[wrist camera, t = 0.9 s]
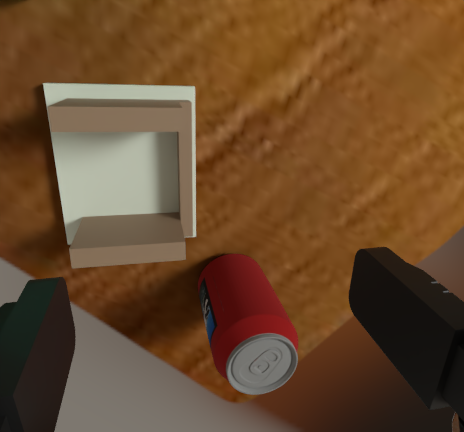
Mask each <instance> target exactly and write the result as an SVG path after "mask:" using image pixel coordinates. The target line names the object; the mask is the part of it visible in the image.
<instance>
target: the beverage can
mask: <svg viewBox="0 0 464 432" xmlns="http://www.w3.org/2000/svg"><path fill="white" fill-rule="evenodd" d="M198 293H199V297H200V302H201V307H202V312H203V316H204V321H205V326H206V330H207V334H208V339H209V343H210V347H211V351H212V355H213V359H214V363H215V366H216V368H217V370H218V372H219V373H220V374H221V375H222V376H223V377H224V378H225V379H227V380H228V381H229V382H230V384H231V385H232V386H233V387H234V388H235V389H236V390H238V391H240V392H242V393H245V394H263V393H267V392H270V391H272V390H275V389H277V388H279V387H280V386H281V385H283V384H284V383H285V382H286V381H287V380H289V378H290V377H291V376H292V375H293V373H294V371H295V369H296V366H297V362H298V356H297V349H298V336H297V332H296V330H295V328H294V326H293V324H292V323H291V321H290V319H289V317H288V315H287V313H286V312H285V310H284V308H283V306H282V304H281V303H280V301H279V299H278V297H277V295H276V294H275V292H274V290H273V288H272V287H271V285H270V283H269V281H268V280H267V278H266V276H265V275H264V273H263V271H262V270H261V268H260V266H259V265H258V263H257V262H256V261H254V260H253V259H252V258H250V257H248V256H245V255H242V254H227V255H223V256H221V257H218V258H216V259H214V260H213V261H211V262H210V263H209V264H208V265H207V266H206V267H205V268H204V270H203V271H202V273H201V275H200V277H199V281H198Z"/></svg>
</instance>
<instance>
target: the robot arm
mask: <svg viewBox="0 0 464 432" xmlns="http://www.w3.org/2000/svg"><path fill="white" fill-rule="evenodd" d="M349 303H350V307H351V310H352V312H353V314H354V316H355V317H356V318H357V319H358V321H359V322H360V323H361V325H362V326H363V327H364V328H365V330H366V331H367V332H368V333H369V335H370V336H371V337H372V338H373V340H374V341H375V342H376V343H377V345H378V346H379V347H380V348H381V349H382V351H383V352H384V353H385V355H386V356H387V357H388V358H389V360H390V361H391V362H392V363H393V365H394V366H395V367H396V369H397V370H398V371H399V372H400V374H401V375H402V376H403V377H404V379H405V380H406V381H407V382H408V384H409V385H410V386H411V387H412V389H413V390H414V391H415V392H416V394H417V395H418V396H419V397H420V399H421V400H422V401H423V402H424V404H425V405H426V406H427V407H428V409H429V410H433V409H438V408H443V407H448V406H451V407H452V409H453V410H454V411H455V414H454V417H453V420H452V431H453V432H464V302H463V301H462V300H460V299H459V298H458V297H457V296H455V295H454V294H453V293H449V290H448V289H446V288H445V287H444V286H443V285H441V284H440V283H439V284H438V283H437V281H436V280H435V279H434V278H432V277H431V276H430V275H428V274H427V273H426V272H424V271H423V270H421V269H419V268H417V267H415V266H413V265H411V264H409V263H407V262H405V261H404V260H403V259H401V258H400V257H399V256H398V255H396V254H395V253H394V252H393V251H391V250H390V249H389V248H387V247H377V248H366V249H360V250H358V251H357V253H356V256H355V261H354V267H353V273H352V278H351V284H350V290H349ZM74 350H75V327H74V321H73V316H72V311H71V306H70V301H69V296H68V291H67V286H66V282H65V280H64V278H63V277H57V278H46V279H36V280H29V281H28V282H27V284H26V286H25V288H24V290H23V291H22V293H21V295H20V297H19V299H18V301H17V302H12V303H5V304H4V305H2V306H1V307H0V432H54V430H55V426H56V422H57V418H58V414H59V410H60V406H61V402H62V398H63V394H64V390H65V386H66V382H67V378H68V374H69V370H70V366H71V362H72V358H73V354H74Z"/></svg>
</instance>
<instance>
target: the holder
mask: <svg viewBox="0 0 464 432" xmlns="http://www.w3.org/2000/svg"><path fill="white" fill-rule="evenodd" d="M43 86H44V93H45V99H46V106H47V112H48V119H49V125H50V132H51V138H52V145H53V152H54V158H55V165H56V171H57V178H58V184H59V191H60V197H61V204H62V210H63V217H64V223H65V230H66V236H67V243H68V245H71V246H70V248H69V252H70V259H71V265H72V268H84V267H97V266H110V265H124V264H137V263H150V262H163V261H177V260H186V249H185V238H184V237H196V160H195V86H169V85H124V84H80V83H43Z"/></svg>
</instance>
